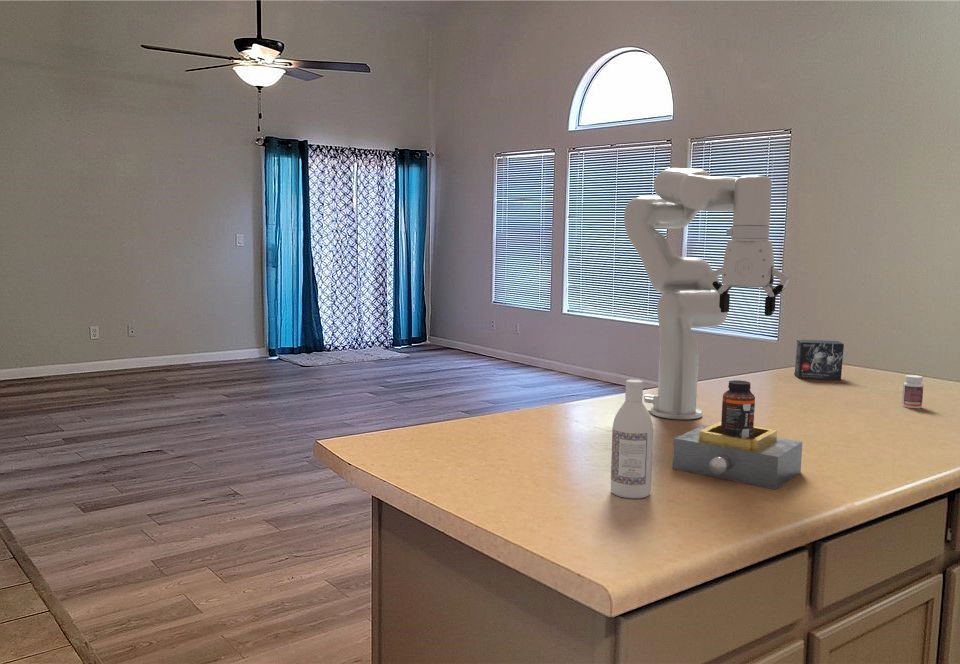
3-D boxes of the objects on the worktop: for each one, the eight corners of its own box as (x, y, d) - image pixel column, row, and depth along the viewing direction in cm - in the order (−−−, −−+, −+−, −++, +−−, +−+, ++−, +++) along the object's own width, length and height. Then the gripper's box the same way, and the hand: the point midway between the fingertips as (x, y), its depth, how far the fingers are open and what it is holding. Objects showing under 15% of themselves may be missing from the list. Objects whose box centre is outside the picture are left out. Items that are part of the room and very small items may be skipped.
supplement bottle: (754, 444, 152) (758, 385, 151) (722, 442, 153) (725, 383, 152) (750, 436, 158) (753, 379, 157) (719, 434, 159) (721, 378, 158)
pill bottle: (925, 408, 215) (927, 377, 214) (907, 408, 215) (909, 377, 214) (916, 405, 220) (918, 374, 219) (898, 404, 220) (900, 374, 219)
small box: (798, 378, 259) (800, 341, 258) (793, 375, 266) (795, 339, 264) (841, 380, 257) (844, 343, 256) (836, 376, 264) (838, 340, 262)
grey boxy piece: (665, 471, 155) (667, 432, 154) (701, 453, 168) (703, 416, 167) (770, 493, 142) (773, 450, 141) (800, 472, 156) (803, 432, 155)
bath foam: (623, 484, 146) (626, 375, 144) (657, 492, 142) (662, 380, 140) (602, 493, 141) (606, 380, 139) (638, 502, 137) (642, 386, 134)
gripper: (705, 233, 176) (701, 312, 178) (785, 234, 165) (780, 317, 167) (718, 234, 182) (714, 309, 184) (797, 234, 171) (792, 315, 173)
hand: (746, 313), depth 176 cm, fingers open, 9 cm apart
